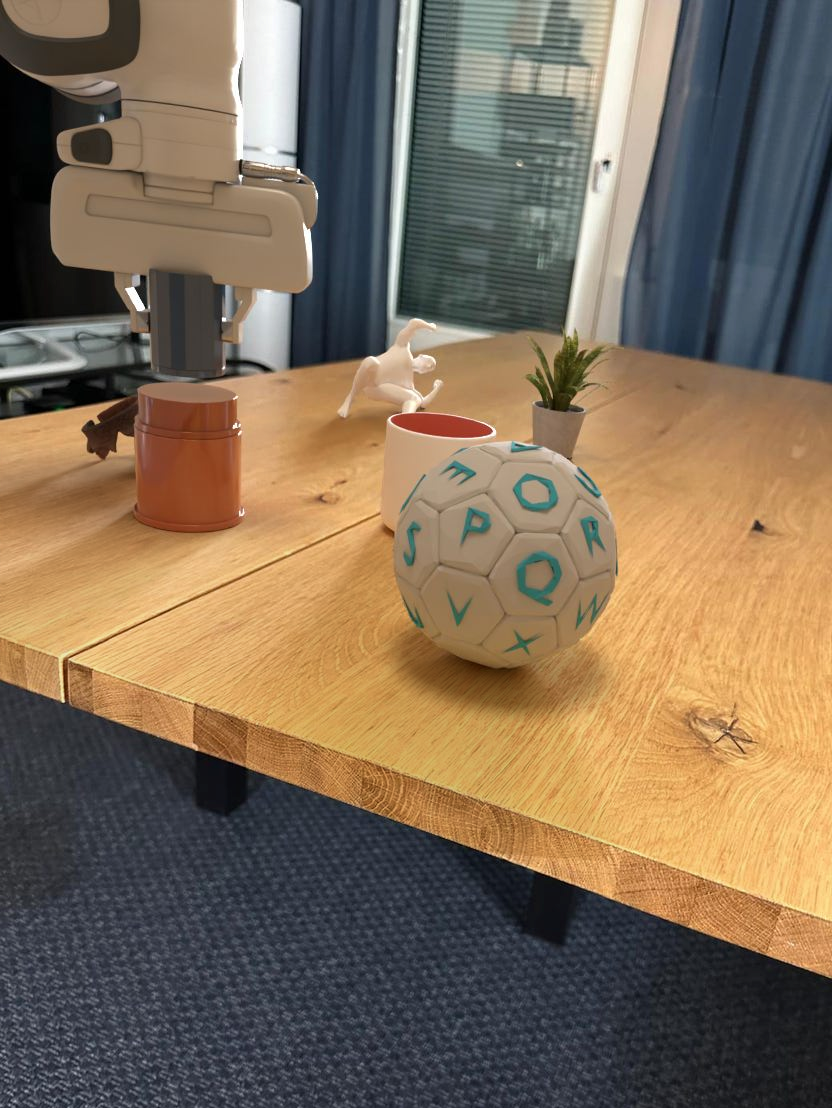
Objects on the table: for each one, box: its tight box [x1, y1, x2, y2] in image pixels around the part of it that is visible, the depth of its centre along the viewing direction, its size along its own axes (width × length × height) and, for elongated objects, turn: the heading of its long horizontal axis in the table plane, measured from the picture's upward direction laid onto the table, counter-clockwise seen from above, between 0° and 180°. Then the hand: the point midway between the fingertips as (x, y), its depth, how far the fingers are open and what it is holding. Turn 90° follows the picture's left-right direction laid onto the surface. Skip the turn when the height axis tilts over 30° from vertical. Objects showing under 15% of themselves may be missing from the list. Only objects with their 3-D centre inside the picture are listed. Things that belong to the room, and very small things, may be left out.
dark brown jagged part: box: [80, 394, 138, 461], centre depth 95 cm, size 12×10×8 cm
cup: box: [379, 411, 497, 533], centre depth 86 cm, size 10×10×10 cm
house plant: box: [521, 324, 631, 459], centre depth 118 cm, size 14×14×16 cm
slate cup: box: [146, 269, 227, 379], centre depth 77 cm, size 6×6×8 cm
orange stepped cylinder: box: [132, 381, 245, 533], centre depth 82 cm, size 10×10×11 cm
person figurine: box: [337, 317, 444, 419], centre depth 132 cm, size 13×13×18 cm
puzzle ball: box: [392, 440, 619, 670], centre depth 62 cm, size 15×15×15 cm
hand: (187, 337), depth 78 cm, fingers closed on slate cup, 6 cm apart
